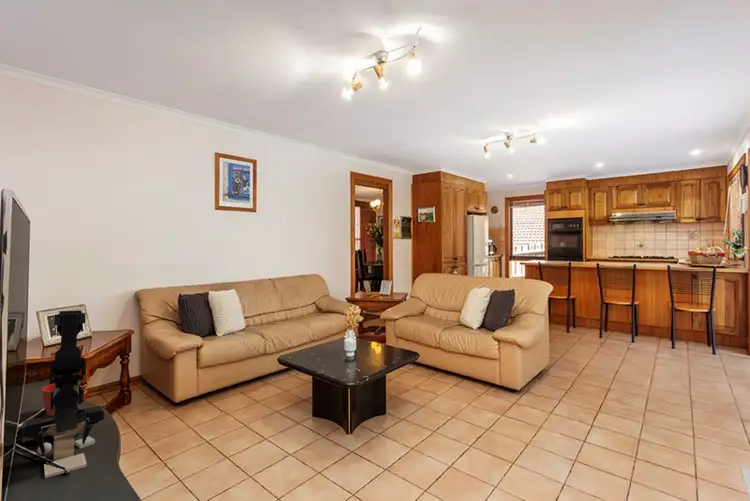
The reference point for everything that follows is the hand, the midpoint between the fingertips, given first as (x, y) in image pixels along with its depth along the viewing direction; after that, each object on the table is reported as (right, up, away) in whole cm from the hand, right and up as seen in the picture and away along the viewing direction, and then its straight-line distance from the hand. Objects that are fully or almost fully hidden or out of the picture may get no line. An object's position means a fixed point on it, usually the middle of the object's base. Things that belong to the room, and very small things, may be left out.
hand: (63, 448), depth 114 cm
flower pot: (-24, -1, +28) cm, 36 cm away
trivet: (+5, -2, -5) cm, 7 cm away
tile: (+1, -3, +7) cm, 7 cm away
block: (0, -2, 0) cm, 2 cm away
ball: (-6, 0, 0) cm, 6 cm away
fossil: (-7, -2, +9) cm, 12 cm away
